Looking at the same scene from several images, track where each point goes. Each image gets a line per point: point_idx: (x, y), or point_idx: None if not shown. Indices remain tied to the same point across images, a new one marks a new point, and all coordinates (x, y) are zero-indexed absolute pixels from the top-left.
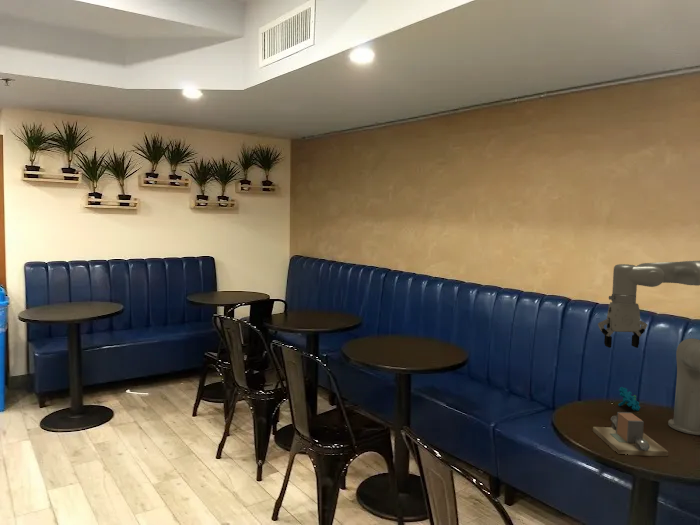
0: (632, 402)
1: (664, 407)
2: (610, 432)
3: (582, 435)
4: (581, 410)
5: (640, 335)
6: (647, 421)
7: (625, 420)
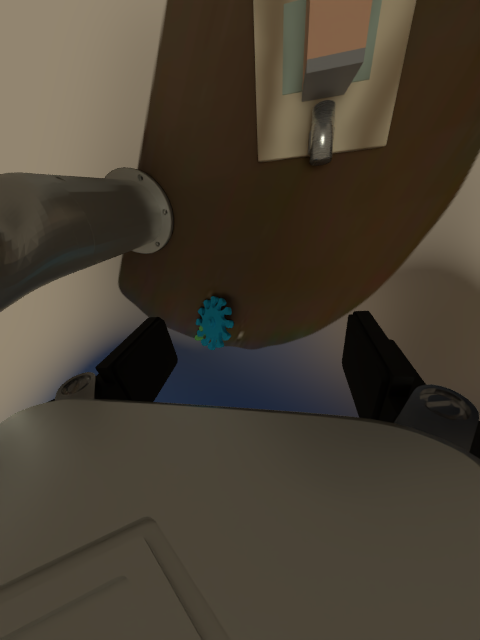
0: (211, 312)
1: None
2: (358, 98)
3: (442, 94)
4: (324, 295)
5: (74, 383)
6: (208, 245)
7: None
